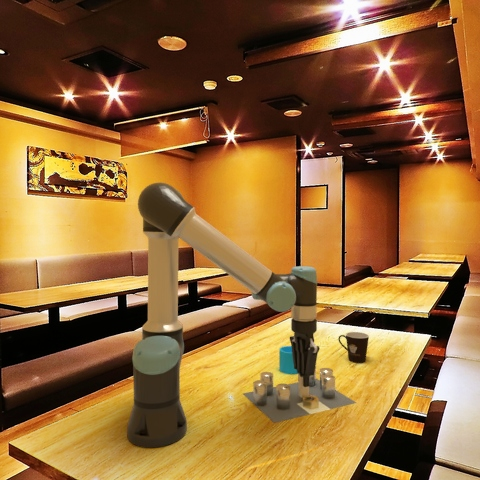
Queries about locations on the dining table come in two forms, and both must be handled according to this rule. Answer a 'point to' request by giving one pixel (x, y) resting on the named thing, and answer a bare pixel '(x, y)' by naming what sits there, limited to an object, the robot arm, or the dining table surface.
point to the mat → (299, 403)
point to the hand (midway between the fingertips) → (303, 395)
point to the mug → (286, 360)
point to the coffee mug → (356, 346)
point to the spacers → (265, 388)
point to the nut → (310, 402)
